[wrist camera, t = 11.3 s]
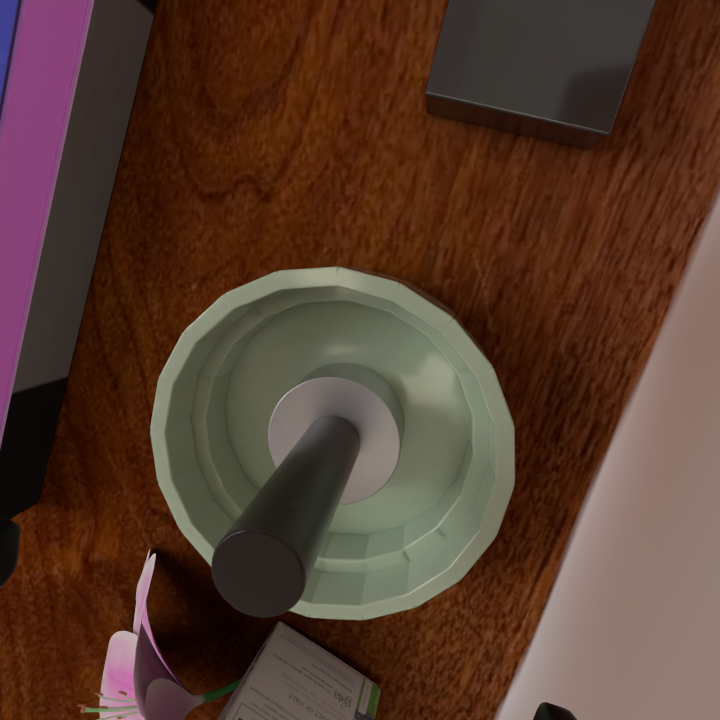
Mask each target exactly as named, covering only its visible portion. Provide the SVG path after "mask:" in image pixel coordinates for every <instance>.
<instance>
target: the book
mask: <svg viewBox="0 0 720 720" xmlns="http://www.w3.org/2000/svg"><path fill="white" fill-rule="evenodd" d="M157 1H158V0H0V517H1V518H4V519H7V520H9V519H11V518H13V517H14V516H16V515H18V514H19V513H21V512H23V511H24V510H26V509H28V508H29V507H31V506H33V505H34V504H36V503H38V500H39V496H40V491H41V487H42V483H43V479H44V475H45V470H46V466H47V462H48V458H49V454H50V450H51V445H52V441H53V437H54V433H55V429H56V424H57V420H58V416H59V412H60V408H61V403H62V399H63V395H64V391H65V387H66V382H67V378H68V374H69V370H70V366H71V361H72V357H73V353H74V349H75V345H76V341H77V336H78V332H79V328H80V324H81V320H82V315H83V311H84V307H85V303H86V299H87V294H88V290H89V286H90V282H91V278H92V273H93V269H94V265H95V261H96V257H97V252H98V248H99V244H100V240H101V236H102V231H103V227H104V223H105V219H106V215H107V211H108V206H109V202H110V198H111V194H112V190H113V185H114V181H115V177H116V173H117V169H118V164H119V160H120V156H121V152H122V148H123V143H124V139H125V135H126V131H127V127H128V122H129V118H130V114H131V110H132V106H133V102H134V97H135V93H136V89H137V85H138V81H139V76H140V72H141V68H142V64H143V60H144V55H145V51H146V47H147V43H148V39H149V34H150V30H151V26H152V22H153V18H154V13H155V9H156V5H157Z"/></svg>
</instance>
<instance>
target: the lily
mask: <svg viewBox="0 0 720 720" xmlns="http://www.w3.org/2000/svg"><path fill="white" fill-rule="evenodd" d="M149 555H150V550H149V552H148V555H147V558H146V562H145V565H144V569H143V572H142V575H141V577H140V580H139V582H138V585H137V592H136V608H135V616H134V625H133V633H131V632H128V631H118V632H117V633H115V634H114V635H113V636H112V637H111V639H110V642H109V646H108V652H107V657H106V662H105V667H104V672H103V678H102V685H101V693H94V695H98V696H99V697H100V706H99V708H88V707H87V705H84V704H81V705H78V707H82V709H81V713H84V712H100V719H97V720H183V719H184V718H185V717H186V715H187V714H188V713H189V712H190V711H191V710H192V709H193V708H195V707H197V706H198V705H200V704H203V703H206V702H208V701H211V700H213V699H216V698H218V697H221V696H223V695H225V694H227V693H230V692H232V691H234V690H236V689H237V687H238V685H239V684H240V682H241V680H242V679H243V677H242V678H240V679H238V680H237V681H235V682H233V683H231V684H229V685H227V686H224V687H222V688H220V689H217V690H215V691H212V692H208V693H205V694H201V695H196V696H195V695H192V694H191V693H190V692H189V691H188V690H187V689H186V688H185V686H184V685H183V684H182V682H181V681H180V680H179V678H178V677H177V676H176V674H175V673H174V671H173V670H172V669H171V667H170V666H169V664H168V662H167V661H166V659H165V658H164V656H163V654H162V652H161V651H160V649H159V647H158V645H157V643H156V641H155V638H154V635H153V633H152V630H151V627H150V624H149V618H148V612H147V595H148V590H149V586H150V582H151V578H152V574H153V569H154V564H155V558H156V554H153V555H152V556H151V558H150V559H149Z"/></svg>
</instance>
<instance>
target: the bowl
mask: <svg viewBox="0 0 720 720" xmlns="http://www.w3.org/2000/svg"><path fill="white" fill-rule="evenodd" d="M333 363H353V364H358V365H361V366H364V367H367V368H369V369H371V370H373V371H375V372H376V373H378V374H379V375H381V376H382V377H383V378H384V379H385V380H387V381H388V383H389V384H390V385H391V386H392V387H393V389H394V390H395V392H396V393H397V395H398V397H399V399H400V401H401V404H402V407H403V411H404V417H405V428H404V435H403V441H402V446H401V452H400V457H399V462H398V464H397V467H396V470H395V472H394V473H393V475H392V477H391V478H390V480H389V481H388V482H387V484H386V485H385V486H384V487H383V488H382V489H381V490H380V491H378V492H377V493H376V494H374V495H373V496H371V497H369V498H367V499H365V500H362V501H360V502H356V503H352V504H346V505H338V507H337V510H336V512H335V515H334V517H333V520H332V522H331V525H330V527H329V530H328V532H327V535H326V537H325V540H324V542H323V545H322V547H321V550H320V552H319V555H318V557H317V560H316V562H315V565H314V567H313V570H312V572H311V575H310V577H309V580H308V582H307V585H306V587H305V590H304V592H303V594H302V596H301V598H300V600H299V601H298V602H297V604H296V605H295V606H294V607H292V608H291V609H290V610H288V611H291V612H294V613H297V614H300V615H303V616H306V617H311V618H323V619H342V620H363V619H364V620H368V619H372V618H376V617H380V616H384V615H388V614H393V613H397V612H401V611H405V610H409V609H413V608H415V607H418V606H420V605H421V604H423V603H424V602H426V601H428V600H429V599H431V598H433V597H434V596H436V595H437V594H439V593H441V592H442V591H444V590H446V589H447V588H449V587H451V586H452V585H454V584H455V583H457V582H459V581H460V580H461V579H462V578H463V577H464V576H465V575H466V573H467V572H468V571H469V570H470V568H471V567H472V566H473V565H474V564H475V562H476V561H477V560H478V559H479V557H480V556H481V555H482V554H483V553H484V551H485V550H486V549H487V548H488V547H489V545H490V544H491V543H492V542H493V540H494V539H495V537H496V536H497V534H498V531H499V528H500V525H501V523H502V520H503V517H504V514H505V511H506V509H507V506H508V503H509V500H510V497H511V494H512V492H513V489H514V484H515V427H514V422H513V419H512V417H511V414H510V411H509V408H508V406H507V403H506V400H505V397H504V394H503V392H502V389H501V386H500V383H499V381H498V378H497V375H496V372H495V370H494V368H493V366H492V364H491V363H490V361H489V359H488V357H487V356H486V354H485V352H484V350H483V349H482V347H481V346H480V345H479V343H478V342H477V341H476V339H475V338H474V337H473V336H472V334H471V333H470V332H469V331H468V329H467V328H466V327H465V326H464V324H463V323H462V322H461V321H460V319H459V318H458V317H457V316H456V314H455V313H454V312H453V311H452V309H450V308H449V307H448V306H447V305H445V304H444V303H442V302H441V301H439V300H437V299H436V298H434V297H433V296H431V295H430V294H428V293H427V292H425V291H424V290H422V289H421V288H419V287H417V286H416V285H414V284H413V283H411V282H410V281H408V280H405V279H403V278H399V277H395V276H392V275H388V274H384V273H380V272H376V271H373V270H369V269H365V268H361V267H355V266H347V267H322V268H307V269H292V270H280V271H275V272H273V273H271V274H268V275H266V276H264V277H261V278H259V279H257V280H254V281H252V282H250V283H247V284H245V285H243V286H240V287H238V288H235V289H233V290H231V291H228V292H226V293H225V294H223V295H222V296H221V297H220V298H219V299H218V300H216V301H215V302H214V303H213V304H212V305H211V306H210V307H209V308H208V309H207V310H206V311H204V312H203V313H202V314H201V315H200V316H199V317H198V318H197V319H196V320H195V321H194V322H193V323H191V324H190V325H189V326H188V327H187V328H186V329H185V331H184V332H183V333H182V335H181V337H180V338H179V340H178V342H177V344H176V346H175V348H174V350H173V352H172V354H171V355H170V357H169V359H168V361H167V363H166V365H165V367H164V369H163V370H162V372H161V374H160V376H159V379H158V383H157V389H156V395H155V401H154V408H153V414H152V420H151V426H150V430H151V431H150V435H151V442H152V449H153V455H154V462H155V469H156V475H157V481H158V482H159V483H158V485H159V487H160V489H161V491H162V493H163V495H164V497H165V499H166V502H167V504H168V506H169V508H170V510H171V512H172V514H173V517H174V519H175V521H176V523H177V525H178V527H179V529H180V530H181V532H182V534H183V535H184V536H185V537H186V538H187V539H188V541H189V542H190V543H191V544H192V545H193V546H194V547H195V549H196V550H197V551H198V552H199V553H200V554H201V556H202V557H203V558H204V559H205V560H206V561H207V563H208V564H209V565H210V566H211V563H212V557H213V553H214V551H215V549H216V547H217V545H218V544H219V542H220V541H221V540H222V538H223V537H224V536H225V535H226V533H227V532H228V531H229V529H230V528H231V527H232V526H233V524H234V523H235V522H236V520H237V519H238V518H239V517H240V515H241V514H242V513H243V511H244V510H245V509H246V508H247V506H248V505H249V504H250V502H251V501H252V500H253V499H254V497H255V496H256V495H257V493H258V492H259V491H260V490H261V488H262V487H263V486H264V484H265V483H266V482H267V481H268V479H269V478H270V477H271V475H272V474H273V473H274V471H275V470H276V469H277V468H276V466H275V465H274V462H273V460H272V457H271V454H270V450H269V444H268V428H269V422H270V419H271V416H272V413H273V411H274V409H275V407H276V405H277V404H278V402H279V401H280V399H281V398H282V397H283V396H284V395H285V394H286V393H287V392H288V391H289V390H290V389H292V388H293V387H294V386H295V385H296V384H297V383H299V382H300V381H301V380H302V379H303V378H304V377H306V376H307V375H308V374H309V373H311V372H312V371H314V370H316V369H318V368H320V367H322V366H325V365H328V364H333Z"/></svg>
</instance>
